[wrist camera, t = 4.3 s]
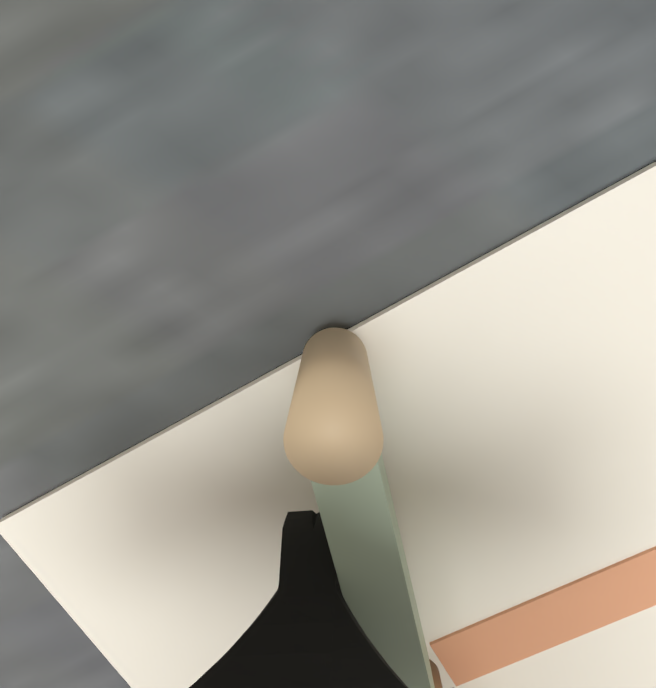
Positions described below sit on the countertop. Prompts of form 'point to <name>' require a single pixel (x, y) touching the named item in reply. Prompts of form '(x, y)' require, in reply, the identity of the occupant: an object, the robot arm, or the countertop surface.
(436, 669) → the fixed fence
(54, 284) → the countertop surface
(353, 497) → the green and tan bar
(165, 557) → the card
